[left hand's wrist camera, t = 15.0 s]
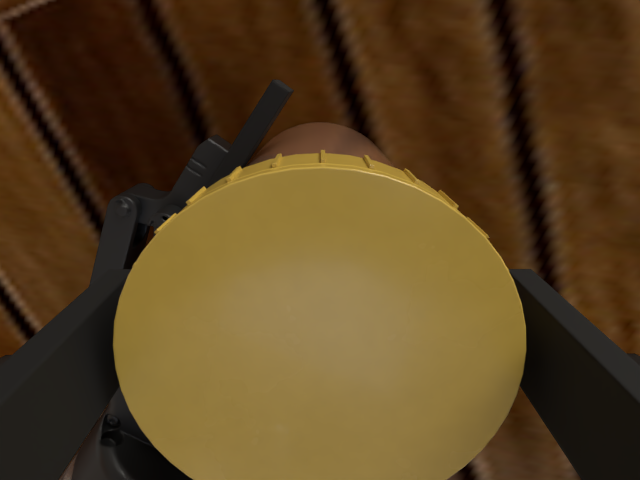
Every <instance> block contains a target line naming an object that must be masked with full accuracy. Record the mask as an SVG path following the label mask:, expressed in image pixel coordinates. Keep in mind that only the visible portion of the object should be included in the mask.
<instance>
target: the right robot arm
mask: <svg viewBox="0 0 640 480" xmlns="http://www.w3.org/2000/svg"><path fill="white" fill-rule="evenodd" d="M293 91H294V90H292V89H291V88H290V87H288V86H287V85H285V84H284V83H283V82H281V81H280V80H272V82H271V83H270V85H269V86H268V88H267V90H266V91H265V93H264V94H263V96H262V98H261V99H260V101H259V102H258V104H257V106H256V107H255V109H254V111H253V112H252V114H251V115H250V117H249V119H248V120H247V122H246V123H245V125H244V127H243V128H242V130H241V131H240V133H239V135H238V136H237V138H236V139H235V141H234V143H233V144H232V145H231V144H230V143H228V142H227V141H226V140H224V139H223V138H221V137H220V136H218V135H215V136H213V137H211V138H209V139H207V140H206V141H204V142H203V143H202V144H200V145H199V146H198V147H197V149H196V150H195V152H194V154H193V155H192V158H191V159H190V161H189V162H188V164H187V166H186V167H185V169H184V171H183V172H182V174H181V176H180V177H179V179H178V181H177V182H176V184H175V186H174V187H173V189H172V191H169V192H166V191H161V190H157V189H154V188H153V186H151V185H149V184H146V183H140V184H137V185H135V186H133V187H132V188H130V189H128V190H126V191H125V192H123V193H121V194H119V195H117V196H116V197H114V198H113V199H111V200H110V202H109V204H108V208H107V212H106V216H105V221H104V225H103V229H102V234H101V238H100V242H99V246H98V251H97V255H96V259H95V264H94V268H93V272H92V277H91V281H90V285H89V287H90V286H91V285H92V284H93V283H94V282H95V281H96V280H97V279H99V278H100V277H101V276H102V275H103V274H104V273H105V272H106V271H108V270H109V269H132V268H133V267H132V266H133V264H134V263H135V262H136V261H137V259H138V257H139V256H140V254H141V252H142V251H143V250H144V248H145V244H146V240H147V237H148V233H149V229H150V226H153V227H154V232H155V231H156V229H158V228H159V227H160V226H161V225H162V224H163V223H164V222H165V221H166V220H168V219H169V218H170V217H171V216H172V215H173V214H174V213H176V214H178V213H179V212H180V211H181V210H182V209H183V208H184V207H186V206H187V203H186V201H188V200H189V199H190V198H191V197H192V196H193V195H194V194H195V193H196V192H198V191H199V190H200V189H201V188H202V187H205V188H206V189H207V188H209V187H210V186H211V185H213V184H214V183H216V182H217V181H219V180H220V179H222V178H224V177H226V176H228V175H230V174H231V173H232V172H233V171H234V170H235V169H236V168H237V167H239V166H241V168H244V167H245V166H246V164H247V163H248V161H249V159H250V158H251V156H252V155H253V153H254V152H255V150H256V149H257V147H258V145H259V144H260V142H261V141H262V139H263V138H264V136H265V135H266V133H267V131H268V130H269V128H270V127H271V125H272V124H273V122H274V121H275V119H276V118H277V116H278V114H279V113H280V111H281V110H282V108H283V107H284V105H285V104H286V102H287V100H288V99H289V97H290V96H291V94H292V93H293ZM155 235H156V234H155V233H154V236H155ZM59 480H193V479H192V478H190V477H188V476H187V475H186V474H184V473H183V472H182V471H181V470H179V469H178V468H177V467H175V466H174V465H173V464H172V463H170V462H169V461H168V460H167V459H166V458H165V457H164V456H163V455H162V454H161V453H160V452H159V451H158V450H157V449H156V448H155V447H154V445H153V444H152V443H151V442H150V440H149V439H148V438H147V437H146V435H145V434H144V433H143V431H142V430H141V429H140V427H139V425H138V424H137V422H136V420H135V419H134V417H133V415H132V414H131V412H130V410H129V408H128V406H127V403H126V401H125V398H124V396H123V394H122V391H121V388H120V387H119V388H118V390H117V391H116V393H115V394H114V396H113V397H112V399H111V400H110V402H109V404H108V406H107V408H106V410H105V411H104V413H103V414H102V416H101V417H100V419H99V420H98V422H97V423H96V425H95V426H94V428H93V429H92V431H91V432H90V434H89V435H88V437H87V438H86V440H85V441H84V443H83V444H82V446H81V448H80V450H79V451H78V453H77V454H76V456H75V457H74V459H73V460H72V462H71V463H70V465H69V466H68V467H67V469H66V470H65V472H64V473H63V475H62V476H61V478H60V479H59Z"/></svg>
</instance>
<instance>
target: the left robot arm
mask: <svg viewBox="0 0 640 480" xmlns="http://www.w3.org/2000/svg"><path fill="white" fill-rule="evenodd" d="M508 270H509V273H510V274H511V276H512V278H513V280H514V283H515V286H516V289H517V292H518V294H519V297H520V300H521V303H522V308H523V314H524V319H525V325H526V356H525V363H524V371H523V375H522V379H521V382H520V387H521V388H522V390H523V391H524V393H525V394H526V396H527V397H528V399H529V400H530V402H531V403H532V405H533V406H534V408H535V409H536V411H537V412H538V414H539V415H540V417H541V419H542V420H543V422H544V423H545V425H546V426H547V428H548V429H549V431H550V432H551V434H552V435H553V437H554V438H555V440H556V441H557V443H558V444H559V446H560V447H561V449H562V450H563V452H564V453H565V455H566V457H567V458H568V460H569V461H570V463H571V464H572V466H573V467H574V469H575V470H576V472H577V473H578V475H579V476H580V478H581V479H582V480H640V356H638V355H636V354H626V353H625V352H624V351H623V350H621V349H620V348H619V347H618V346H617V345H616V344H615V343H614V342H612V341H611V340H610V339H609V338H608V337H607V336H606V335H605V334H603V333H602V332H601V331H600V330H599V329H598V328H597V327H596V326H594V325H593V324H592V323H591V322H590V321H589V320H588V319H587V318H585V317H584V316H583V315H582V314H581V313H580V312H579V311H577V310H576V309H575V308H574V307H573V306H572V305H571V304H570V303H568V302H567V301H566V300H565V299H564V298H563V297H562V296H561V295H559V294H558V293H557V292H556V291H555V290H554V289H553V288H552V287H550V286H549V285H548V284H547V283H546V282H545V281H544V280H543V279H541V278H540V277H539V276H538V275H537V274H536V273H535V272H534V271H532V270H531V269H508ZM130 271H131V269H109V270H108V271H106V272H105V273H104V274H103V275H102V276H101V277H100V278H99V279H97V280H96V281H95V282H94V283H93V284H92V285H91V286H90V287H88V288H87V289H86V290H85V291H84V292H83V293H82V294H81V295H79V296H78V297H77V298H76V299H75V300H74V301H73V302H72V303H70V304H69V305H68V306H67V307H66V308H65V309H64V310H63V311H61V312H60V313H59V314H58V315H57V316H56V317H55V318H53V319H52V320H51V321H50V322H49V323H48V324H47V325H46V326H44V327H43V328H42V329H41V330H40V331H39V332H38V333H37V334H35V335H34V336H33V337H32V338H31V339H30V340H29V341H28V342H26V343H25V344H24V345H23V346H22V347H21V348H20V349H19V350H17V351H16V352H15V353H14V354H13V355H5V356H3V357H1V358H0V480H58V479H59V478H60V476H61V475H62V473H63V472H64V470H65V469H66V467H67V466H68V464H69V463H70V461H71V460H72V458H73V457H74V455H75V453H76V452H77V450H78V449H79V447H80V446H81V444H82V443H83V441H84V440H85V438H86V437H87V435H88V434H89V432H90V431H91V429H92V428H93V426H94V425H95V423H96V422H97V420H98V419H99V417H100V415H101V414H102V412H103V411H104V409H105V408H106V406H107V405H108V403H109V402H110V400H111V399H112V397H113V396H114V394H115V393H116V391H117V390H118V388H119V387H120V385H119V381H118V377H117V373H116V369H115V361H114V351H113V334H114V320H115V315H116V311H117V306H118V301H119V297H120V295H121V292H122V290H123V287H124V284H125V282H126V279H127V277H128V274H129V273H130Z"/></svg>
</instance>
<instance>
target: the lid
mask: <svg viewBox="0 0 640 480" xmlns="http://www.w3.org/2000/svg"><path fill="white" fill-rule="evenodd" d="M186 203H187V206H186V207H184V208H183V209H182V210H181V211H180V212H179V213H178V214H176V213H174V214H173V215H172V216H171V217H170V218H169V219H168V220H166V221H165V222H164V223H163V224H162V225H161V226H160V227H159V228H158V229H156V231H155V232H154V233H155V234H156V235H155V236H154V238H153V239H152V240H151V241H150V242H149V244H148V245H147V246H146V247H145V249H144V250H143V251H142V252H141V254H140V256H139V257H138V259H137V261H136V262H135V263H134V264H133V266H132V267H133V268H132V269H131V271H130V273H129V274H128V277H127V279H126V282H125V284H124V287H123V290H122V292H121V295H120V297H119V301H118V306H117V311H116V315H115V320H114V334H113V351H114V361H115V369H116V373H117V377H118V381H119V385H120V388H121V391H122V394H123V396H124V398H125V401H126V403H127V406H128V408H129V410H130V412H131V414H132V415H133V417H134V419H135V420H136V422H137V424H138V425H139V427H140V429H141V430H142V431H143V433H144V434H145V435H146V437H147V438H148V439H149V440H150V442H151V443H152V444H153V445H154V447H155V448H156V449H157V450H158V451H159V452H160V453H161V454H162V455H163V456H164V457H165V458H166V459H167V460H168V461H169V462H170V463H172V464H173V465H174V466H175V467H177V468H178V469H179V470H181V471H182V472H183V473H184V474H186V475H187V476H188V477H190V478H192V479H193V480H447V479H448V478H449V477H451V476H452V475H453V474H455V473H456V472H458V471H459V470H460V469H462V468H463V467H464V466H465V465H467V464H468V463H469V462H470V461H471V460H472V459H473V458H474V457H475V456H476V455H477V454H478V453H479V452H480V451H481V450H482V449H483V448H484V447H485V446H486V444H487V443H488V442H489V441H490V440H491V438H492V437H493V436H494V435H495V434H496V432H497V431H498V429H499V427H500V426H501V424H502V423H503V421H504V420H505V418H506V416H507V415H508V413H509V411H510V408H511V406H512V404H513V402H514V400H515V397H516V395H517V392H518V389H519V386H520V382H521V379H522V375H523V371H524V363H525V356H526V325H525V319H524V314H523V308H522V303H521V300H520V297H519V294H518V292H517V289H516V286H515V283H514V280H513V278H512V276H511V274H510V273H509V270H508V268H507V267H506V265H505V263H504V262H503V260H502V258H501V256H500V255H499V254H498V252H497V251H496V250H495V248H494V247H493V246H492V245H491V243H490V242H489V241H488V239H487V238H489V236H488V235H487V234H486V233H485V232H484V231H483V230H482V229H481V228H479V227H478V226H477V225H476V224H475V223H474V222H473V221H472V220H471V219H470V218H468V217H467V218H466V217H465V216H464V215H463V214H462V213H460V212H459V211H458V210H457V208H458V207H459V206H458V205H457V204H456V203H455V202H454V201H452V200H451V199H450V198H449V197H448V196H447V195H446V194H445V193H443V192H442V191H441V190H439V191H438V192H436V191H435V190H434V189H432V188H431V187H429V186H428V185H427V184H425V183H424V182H422V181H421V180H419V179H417V178H416V177H415V176H414V175H413V174H412V173H411V172H410V171H409V170H407V169H404V171H402V170H400V169H397V168H394V167H391V166H389V165H386V164H383V163H380V162H377V161H374V160H371V159H370V158H369V156H368V155H364V157H363V158H360V157H356V156H351V155H342V154H329V153H325V150H321V153H312V154H295V155H290V156H284V157H282V154H277V156H276V157H275V158H273V159H269V160H266V161H263V162H260V163H257V164H254V165H251V166H247V167H245V168H241V166H239V167H237V168H236V169H235V170H234V171H233V172H232V173H231V174H230V175H228V176H226V177H224V178H222V179H220V180H219V181H217V182H216V183H214V184H213V185H211V186H210V187H209V188H207V189H206V188H205V187H202V188H201V189H200V190H199V191H198V192H196V193H195V194H194V195H193V196H192V197H191V198H190V199H189V200H188V201H186Z"/></svg>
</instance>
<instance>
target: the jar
mask: <svg viewBox="0 0 640 480" xmlns="http://www.w3.org/2000/svg"><path fill="white" fill-rule="evenodd" d="M321 150H325V153H329V154H342V155H351V156H356V157H360V158H363V157H364V155H368V156H369V158H370V159H371V160H374V161H377V162H380V163H383V164H386V165H389V166H391V167H394V166H393V165H392V163H391V162H390V161H389V160H388V159H387V158H386V157H385V155H384V154H383V153H382V152H381V151H380V150H379V149H378V148H377V147H376V146H375V145H374V144H373V143H372V142H371V141H370V140H369V139H367V138H366V137H365V136H363V135H362V134H360V133H358V132H357V131H355V130H353V129H350V128H348V127H345V126H342V125H338V124H333V123H324V122H317V123H307V124H302V125H298V126H295V127H292V128H289V129H287V130H285V131H283V132H281V133H279V134H278V135H277V136H275V137H274V138H272V139H271V140H270V141H269V142H268V143H266V144H265V145H264V146H263V147H262V148H261V150H260V151H259V152H258V153H257V154H256V155H255V156H254V158H253V159H252V160H251V161H250V162H249V163H248V164H247V165H246V167H247V166H251V165H254V164H257V163H260V162H263V161H266V160H269V159H273V158H275V157H276V156H277V154H282V157H284V156H290V155H295V154H312V153H321ZM394 168H395V167H394Z"/></svg>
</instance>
